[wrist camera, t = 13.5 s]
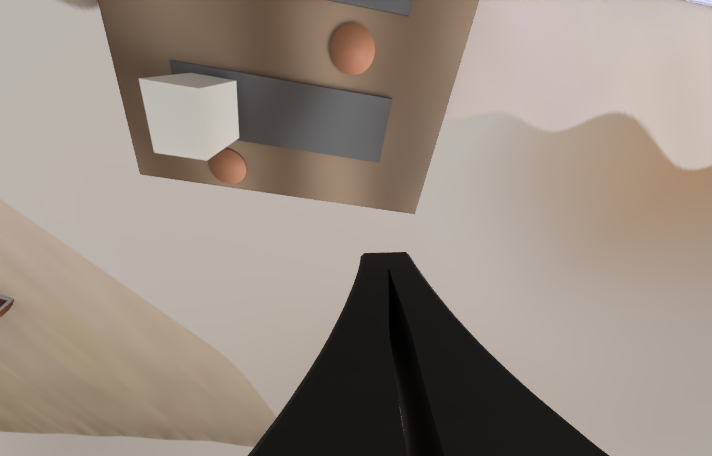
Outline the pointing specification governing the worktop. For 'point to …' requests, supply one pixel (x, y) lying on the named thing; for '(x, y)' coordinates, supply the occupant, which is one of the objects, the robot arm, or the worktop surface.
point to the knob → (190, 114)
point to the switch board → (302, 89)
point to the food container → (5, 304)
